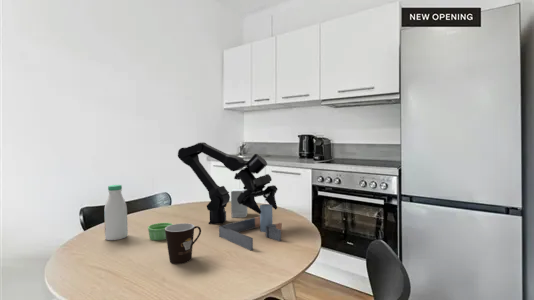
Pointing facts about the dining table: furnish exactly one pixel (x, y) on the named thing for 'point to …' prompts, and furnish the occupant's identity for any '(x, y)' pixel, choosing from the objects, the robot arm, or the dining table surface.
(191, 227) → the coffee mug
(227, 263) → the dining table surface
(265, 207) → the slate peg
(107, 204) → the milk bottle
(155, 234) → the ramekin
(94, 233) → the dining table surface
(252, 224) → the bent channel
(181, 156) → the robot arm
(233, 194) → the supplement box
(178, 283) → the dining table surface
